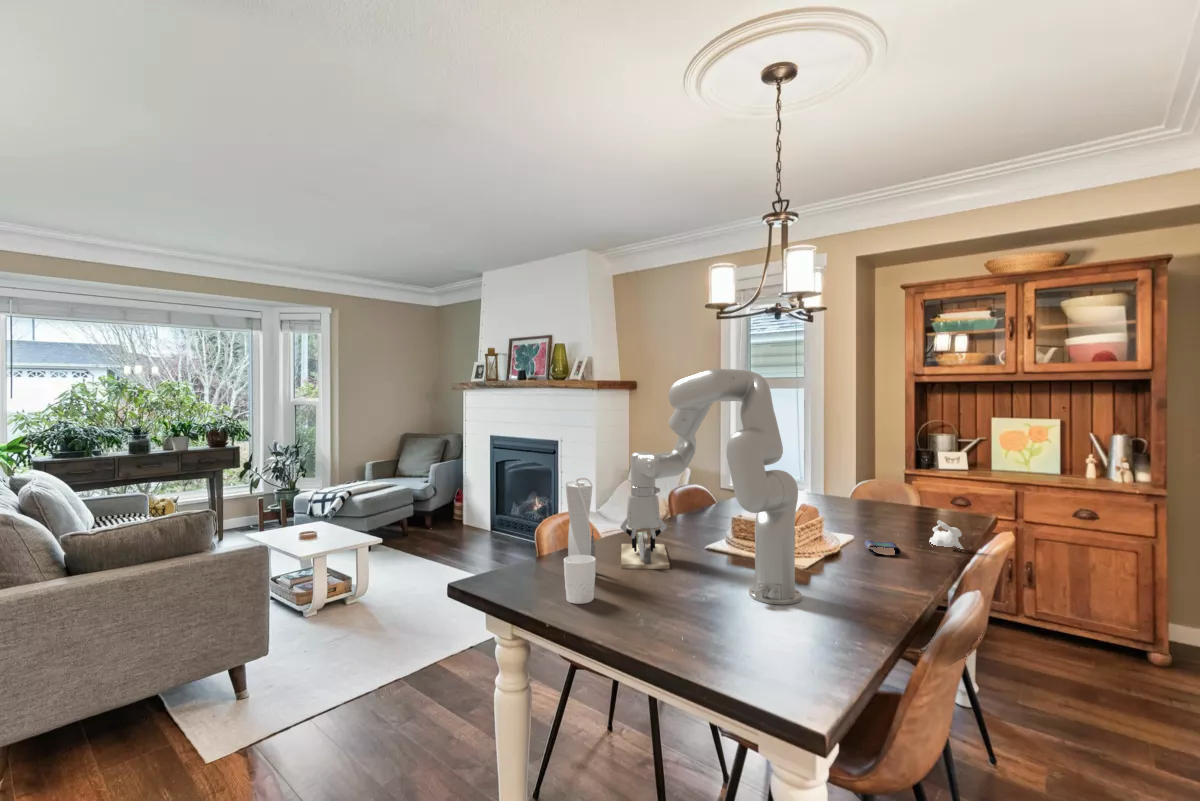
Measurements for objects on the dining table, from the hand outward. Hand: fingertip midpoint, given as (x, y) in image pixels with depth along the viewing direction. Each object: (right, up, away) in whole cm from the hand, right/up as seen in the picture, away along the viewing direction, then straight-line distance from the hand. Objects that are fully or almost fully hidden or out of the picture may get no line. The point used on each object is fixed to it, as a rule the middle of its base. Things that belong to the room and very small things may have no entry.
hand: (643, 550), depth 179 cm
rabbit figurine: (+98, -2, +8) cm, 99 cm away
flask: (+75, -3, 0) cm, 75 cm away
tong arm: (-1, -1, 0) cm, 1 cm away
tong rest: (0, -3, 0) cm, 3 cm away
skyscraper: (-19, -3, -19) cm, 27 cm away
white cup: (-18, -3, -37) cm, 41 cm away
